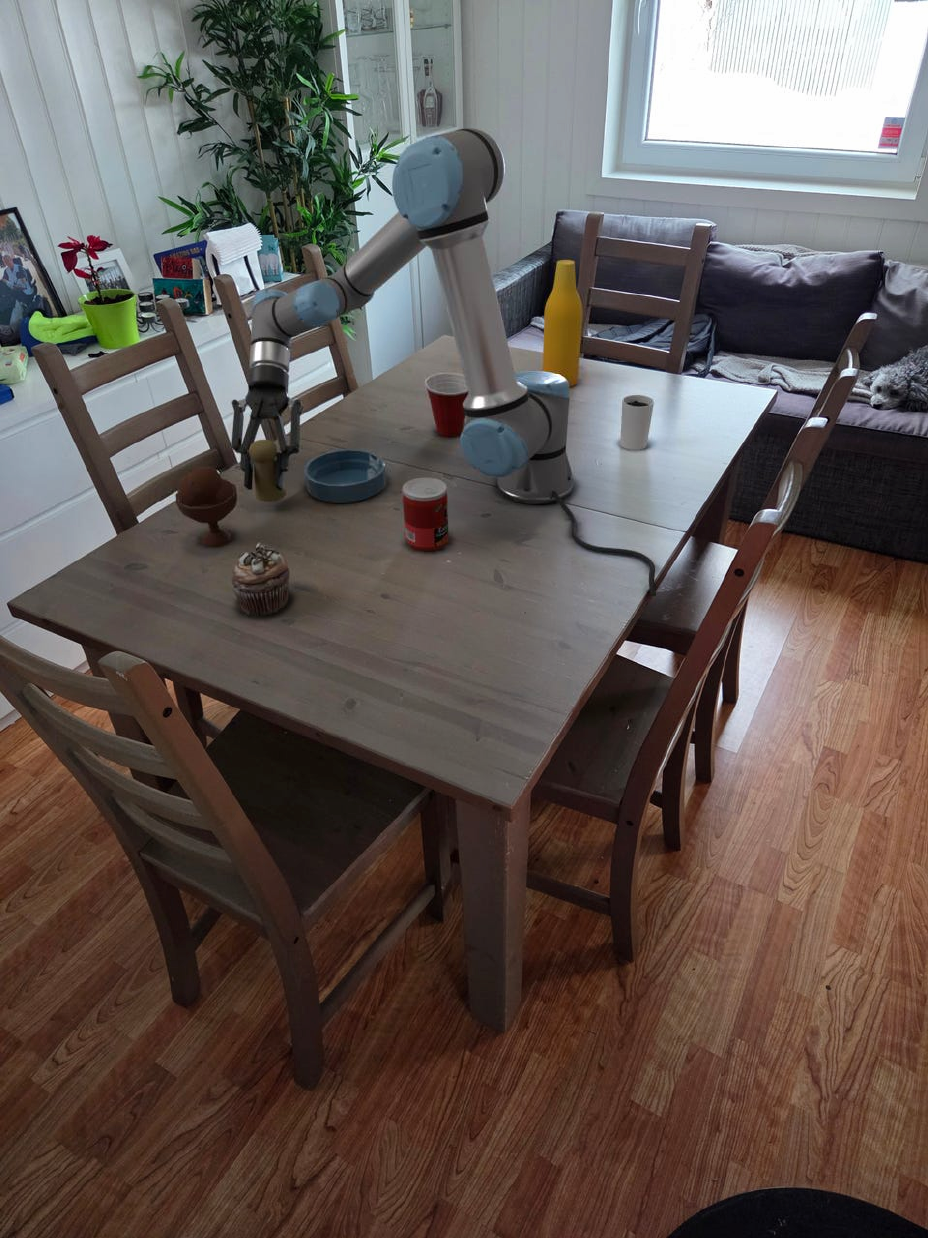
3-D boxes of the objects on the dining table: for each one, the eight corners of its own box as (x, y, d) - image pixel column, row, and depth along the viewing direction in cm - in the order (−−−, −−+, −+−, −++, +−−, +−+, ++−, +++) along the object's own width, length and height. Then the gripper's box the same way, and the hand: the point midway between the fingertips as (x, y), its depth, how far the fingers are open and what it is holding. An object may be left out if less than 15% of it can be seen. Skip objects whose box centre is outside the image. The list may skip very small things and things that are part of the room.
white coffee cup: (611, 443, 185) (615, 399, 179) (633, 435, 188) (637, 392, 182) (633, 453, 180) (638, 409, 174) (655, 445, 183) (660, 401, 177)
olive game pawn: (256, 487, 166) (247, 436, 160) (287, 486, 167) (279, 434, 160) (253, 502, 161) (243, 450, 155) (284, 501, 162) (276, 448, 155)
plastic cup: (446, 446, 185) (444, 394, 178) (417, 431, 192) (414, 380, 185) (483, 432, 190) (483, 381, 183) (454, 418, 197) (453, 368, 190)
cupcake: (261, 579, 145) (251, 529, 138) (305, 595, 141) (297, 544, 134) (222, 608, 138) (210, 557, 132) (267, 625, 134) (257, 573, 128)
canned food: (444, 553, 150) (442, 499, 143) (401, 549, 151) (396, 495, 145) (453, 531, 156) (451, 478, 149) (411, 528, 157) (408, 475, 151)
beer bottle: (539, 387, 211) (543, 266, 194) (544, 373, 218) (549, 256, 201) (575, 389, 210) (583, 267, 192) (580, 376, 217) (587, 257, 199)
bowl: (398, 491, 169) (397, 473, 167) (322, 511, 163) (320, 493, 161) (368, 460, 180) (366, 443, 178) (296, 477, 175) (293, 460, 172)
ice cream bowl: (256, 528, 158) (242, 455, 149) (224, 558, 150) (207, 484, 141) (208, 520, 161) (191, 448, 152) (174, 549, 153) (154, 475, 144)
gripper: (319, 379, 165) (315, 493, 162) (229, 379, 166) (222, 493, 163) (311, 362, 158) (306, 481, 155) (216, 362, 159) (209, 481, 156)
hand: (263, 487), depth 159 cm, fingers closed on olive game pawn, 5 cm apart
